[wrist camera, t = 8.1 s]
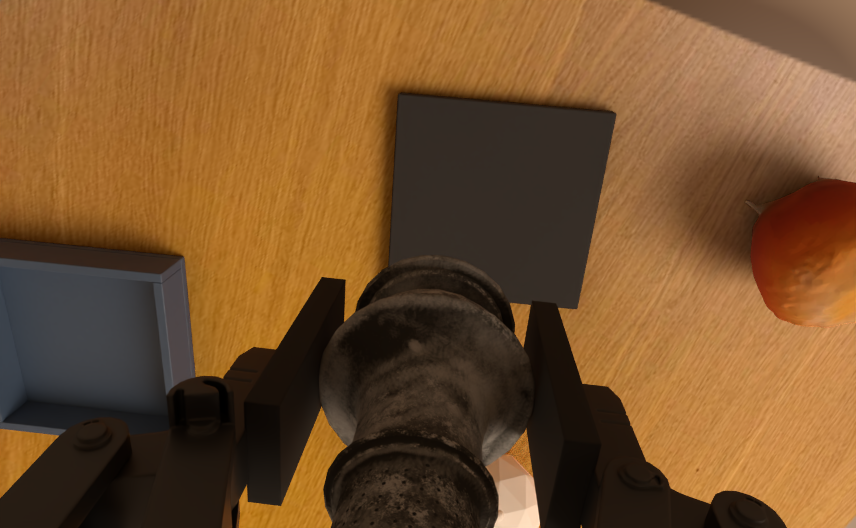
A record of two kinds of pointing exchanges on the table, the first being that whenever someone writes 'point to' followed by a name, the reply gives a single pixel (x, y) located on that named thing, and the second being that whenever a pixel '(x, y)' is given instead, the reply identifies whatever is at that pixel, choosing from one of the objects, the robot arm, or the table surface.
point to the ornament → (514, 494)
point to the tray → (90, 336)
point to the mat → (500, 190)
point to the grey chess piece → (423, 398)
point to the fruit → (808, 254)
